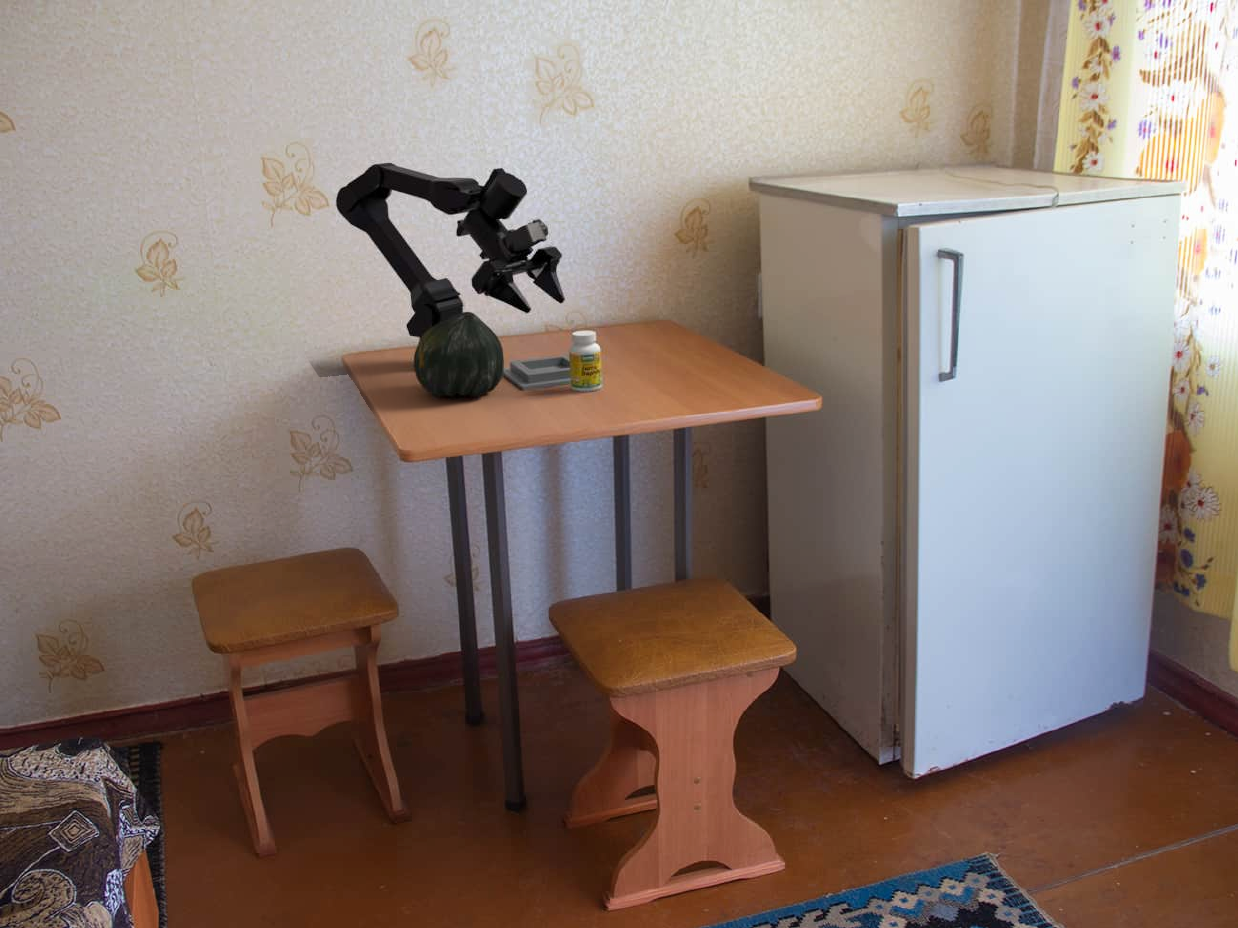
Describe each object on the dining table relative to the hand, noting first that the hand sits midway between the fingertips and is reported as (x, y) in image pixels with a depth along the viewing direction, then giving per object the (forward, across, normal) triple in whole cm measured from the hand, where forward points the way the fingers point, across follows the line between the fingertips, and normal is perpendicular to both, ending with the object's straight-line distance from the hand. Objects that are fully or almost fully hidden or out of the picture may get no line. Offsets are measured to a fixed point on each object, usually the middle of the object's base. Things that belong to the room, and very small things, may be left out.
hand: (546, 306), depth 198 cm
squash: (+3, -13, +16) cm, 21 cm away
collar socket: (+7, +3, +12) cm, 14 cm away
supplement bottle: (+15, 0, +4) cm, 16 cm away
